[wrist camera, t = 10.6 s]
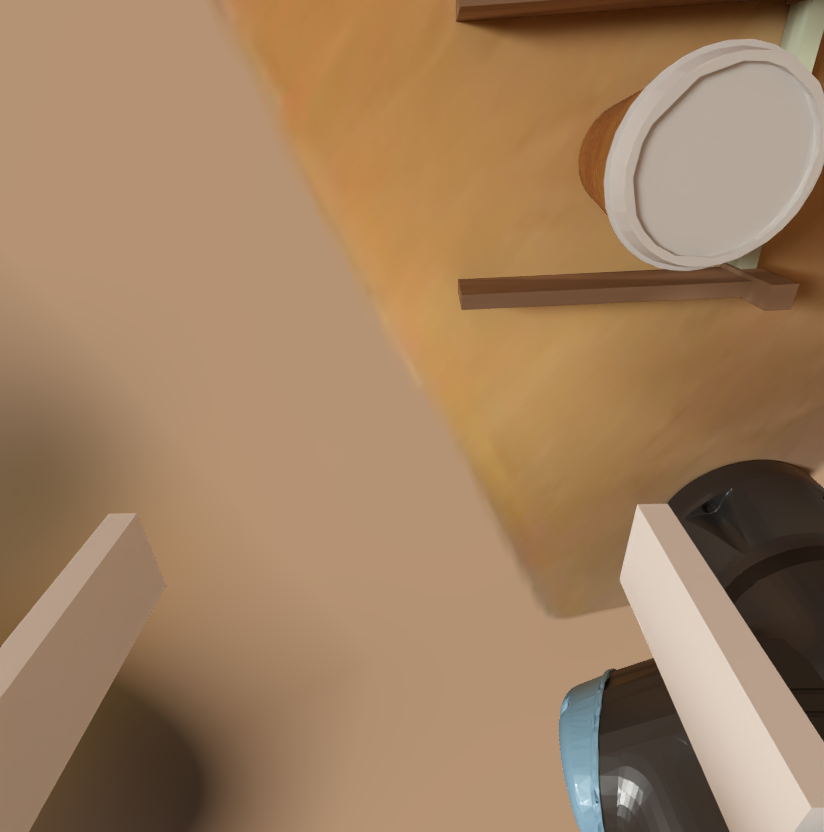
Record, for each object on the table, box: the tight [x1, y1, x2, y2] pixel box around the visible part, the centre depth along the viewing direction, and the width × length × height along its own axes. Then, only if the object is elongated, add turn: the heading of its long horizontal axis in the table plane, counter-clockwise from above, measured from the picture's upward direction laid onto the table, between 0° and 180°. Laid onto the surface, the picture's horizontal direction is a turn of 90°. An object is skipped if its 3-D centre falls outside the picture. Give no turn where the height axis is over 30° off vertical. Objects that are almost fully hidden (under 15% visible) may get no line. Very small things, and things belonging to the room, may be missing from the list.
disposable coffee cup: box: [579, 39, 824, 271], centre depth 27 cm, size 10×10×12 cm
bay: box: [456, 0, 824, 311], centre depth 30 cm, size 18×20×6 cm
